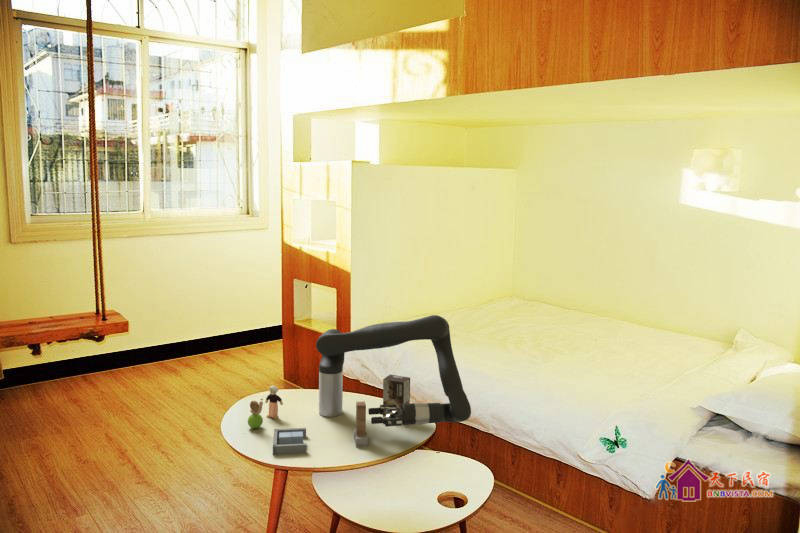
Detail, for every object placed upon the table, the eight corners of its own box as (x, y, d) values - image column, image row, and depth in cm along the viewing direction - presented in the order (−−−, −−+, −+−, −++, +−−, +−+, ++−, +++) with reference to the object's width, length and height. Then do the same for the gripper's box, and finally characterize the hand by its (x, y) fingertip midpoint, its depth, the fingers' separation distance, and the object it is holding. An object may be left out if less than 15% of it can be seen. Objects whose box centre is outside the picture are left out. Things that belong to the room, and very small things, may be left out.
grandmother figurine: (262, 418, 237) (262, 386, 235) (266, 414, 241) (265, 383, 239) (281, 419, 236) (281, 388, 234) (285, 416, 239) (284, 384, 238)
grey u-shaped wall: (274, 437, 220) (274, 429, 219) (306, 435, 222) (305, 427, 221) (272, 455, 206) (272, 446, 205) (306, 453, 208) (306, 444, 207)
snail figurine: (257, 432, 223) (256, 401, 222) (244, 428, 227) (244, 397, 225) (267, 427, 228) (267, 396, 226) (255, 423, 231) (254, 393, 230)
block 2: (291, 442, 216) (291, 432, 215) (302, 442, 216) (302, 431, 216) (291, 447, 212) (291, 436, 211) (303, 447, 213) (302, 436, 212)
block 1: (279, 443, 215) (279, 432, 214) (291, 442, 216) (290, 432, 215) (279, 448, 211) (279, 437, 211) (290, 447, 212) (290, 436, 211)
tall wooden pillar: (353, 436, 222) (354, 399, 220) (364, 436, 223) (365, 398, 221) (356, 447, 213) (356, 408, 211) (367, 446, 214) (368, 408, 212)
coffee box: (410, 417, 241) (411, 377, 239) (403, 422, 235) (404, 382, 233) (389, 412, 245) (390, 373, 243) (382, 418, 239) (382, 378, 237)
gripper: (411, 396, 226) (367, 398, 223) (419, 411, 212) (372, 413, 209) (411, 416, 227) (367, 418, 224) (418, 431, 213) (372, 434, 211)
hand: (369, 415), depth 217 cm, fingers open, 8 cm apart
